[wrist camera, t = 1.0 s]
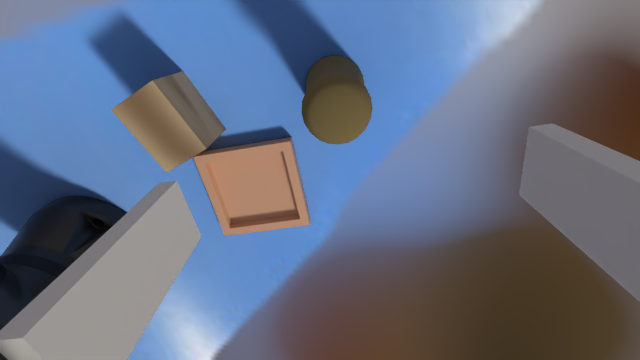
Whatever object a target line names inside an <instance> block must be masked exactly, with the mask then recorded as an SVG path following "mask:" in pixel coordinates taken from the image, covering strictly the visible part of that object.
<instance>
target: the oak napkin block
mask: <svg viewBox="0 0 640 360" xmlns="http://www.w3.org/2000/svg"><path fill="white" fill-rule="evenodd" d="M111 111H112V112H113V113H114V114H115V115H116V116H117V117H118V118H119V120H120V121H121V122H122V123H123V124H124V125H125V126H126V127H127V129H128V130H129V131H130V132H131V133H132V134H133V135H134V136H135V138H136V139H137V140H138V141H139V142H140V143H141V144H142V145H143V147H144V148H145V149H146V150H147V151H148V152H149V153H150V154H151V156H152V157H153V158H154V159H155V160H156V161H157V162H158V163H159V164H160V166H161V167H162V168H163V169H164V170H165V171H166V172H168V171H170V170H172V169H173V168H175V167H177V166H178V165H180V164H182V163H183V162H185V161H187V160H189V159H190V158H192V157H194V156H195V155H197V154H199V153H200V152H202V151H204V150H205V149H207V148H208V147H209V146H210V145H211V144H212V143H213V142H214V141H215V140H216V139H217V138H218V137H219V136H220V135H221V134H222V133H223V132H224V131H225V130H226V128H225V127H224V126H223V124H222V123H221V122H220V120H219V119H218V118H217V116H216V115H215V113H214V112H213V111H212V109H211V108H210V107H209V105H208V104H207V103H206V101H205V100H204V99H203V97H202V96H201V95H200V93H199V92H198V91H197V89H196V88H195V86H194V85H193V84H192V82H191V81H190V80H189V78H188V77H187V76H186V74H185V73H184V72H183V71H181V72H178V73H175V74H171V75H168V76H165V77H161V78H158V79H155V80H152V81H151V82H149V83H148V84H146V85H145V86H144V87H142V88H141V89H139V90H138V91H137V92H135V93H134V94H132V95H131V96H130V97H128V98H127V99H125V100H124V101H123V102H121V103H120V104H118V105H117V106H116V107H114V108H113V109H111Z"/></svg>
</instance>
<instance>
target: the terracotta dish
mask: <svg viewBox="0 0 640 360" xmlns="http://www.w3.org/2000/svg"><path fill="white" fill-rule="evenodd" d="M193 158H194V160H195V163H196V165H197V168H198V170H199V173H200V175H201V178H202V180H203V183H204V185H205V188H206V190H207V193H208V195H209V198H210V200H211V203H212V205H213V208H214V210H215V212H216V215H217V217H218V220H219V222H220V225H221V227H222V230H223V232H224V235H225V236H227V235H235V234H243V233H250V232H258V231H266V230H273V229H281V228H288V227H296V226H304V225H310V214H309V210H308V206H307V201H306V197H305V193H304V188H303V184H302V180H301V175H300V171H299V167H298V162H297V158H296V154H295V149H294V145H293V141H292V137H288V138H282V139H276V140H270V141H264V142H257V143H251V144H245V145H239V146H233V147H227V148H221V149H214V150H208V151H202V152H200V153H199V154H197V155H195V156H194V157H193Z"/></svg>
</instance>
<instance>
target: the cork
mask: <svg viewBox="0 0 640 360" xmlns="http://www.w3.org/2000/svg"><path fill="white" fill-rule="evenodd" d="M305 91H306V93H305V96H304V98H303V101H302V116H303V120H304V123H305V125H306V126H307V128H308V129H309V131H310V132H311V134H313V135H314V136H315V137H316V138H317V139H319V140H321V141H323V142H326V143H328V144H343V143H348V142H350V141H352V140H354V139H355V138H357V137H358V136H359V135H360V134H361V133H362V132H363V131H364V130H365V129H366V127H367V125H368V123H369V121H370V118H371V112H372V103H371V97H370V95H369V93H368V91H367V89H366V87H365V86H364V80H363V75H362V73H361V71H360V69H359V67H358V66H357V65H356V64H355V63H354V62H353V61H352V60H350V59H348V58H346V57H344V56H339V55H331V56H327V57H323V58H322V59H320V60H319V61H317V62H315V64H314V65H313V66H312V67H311V69H310V70H309V72H308V75H307V77H306V82H305Z"/></svg>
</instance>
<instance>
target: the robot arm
mask: <svg viewBox="0 0 640 360" xmlns="http://www.w3.org/2000/svg"><path fill="white" fill-rule="evenodd" d="M519 195H520V196H521V197H522V198H523V199H525V200H526V201H527V202H528V203H529V204H530V205H531V206H532V207H534V208H535V209H536V210H537V211H538V212H539V213H540V214H541V215H543V216H544V217H545V218H546V219H547V220H548V221H549V222H551V223H552V224H553V225H554V226H555V227H556V228H557V229H558V230H559V231H561V232H562V233H563V234H564V235H565V236H566V237H567V238H569V239H570V240H571V241H572V242H573V243H574V244H575V245H576V246H578V247H579V248H580V249H581V250H582V251H583V252H584V253H586V254H587V255H588V256H589V257H590V258H591V259H593V261H594V262H596V263H597V264H598V265H599V266H600V267H601V268H602V269H604V270H605V271H606V272H607V273H608V274H609V275H610V276H611V277H612V278H614V279H615V280H616V281H617V282H618V283H619V284H620V285H621V286H623V287H624V288H625V289H626V290H627V291H628V292H629V293H631V294H632V295H633V296H634V297H635V298H636V299H637V300H638V301H640V161H638V160H635V159H633V158H631V157H628V156H626V155H624V154H621V153H619V152H617V151H614V150H612V149H610V148H607V147H605V146H603V145H601V144H598V143H596V142H594V141H592V140H589V139H587V138H585V137H582V136H580V135H578V134H576V133H573V132H571V131H569V130H566V129H564V128H562V127H559V126H557V125H555V124H546V125H540V126H533V127H529V132H528V138H527V146H526V152H525V159H524V165H523V172H522V179H521V185H520V192H519ZM200 238H201V234H200V232H199V230H198V227H197V225H196V223H195V221H194V218H193V216H192V214H191V212H190V210H189V207H188V205H187V203H186V201H185V198H184V196H183V194H182V192H181V189H180V187H179V185H178V183H177V181H173V182H166V183H160V184H158V185H157V186H156V187H154V188H153V189H152V190H151V191H150V192H149V193H148V194H147V195H146V196H145V197H144V198H143V199H142V200H140V201H139V202H138V203H137V204H136V205H135V206H134V207H133V208H132V209H131V210H130V211H129V212H127V213H125V212H123V211H122V210H120V209H118V208H117V207H115V206H113V205H110V204H108V203H106V202H103V201H100V200H97V199H93V198H87V197H76V196H74V197H65V198H60V199H57V200H55V201H53V202H51V203H49V204H48V205H46V206H45V207H43V208H42V209H40V210H39V211H37V212H36V213H34V214H33V215H32V216H31V217H30V218H29V219H28V221H27V222H26V224H25V225H24V226H23V227H22V229H21V230H20V231H19V233H18V234H17V235H16V237H15V238H14V239H13V241H12V242H11V243H10V245H9V246H8V247H7V249H6V250H5V251H4V253H3V254H2V255H1V256H0V360H127V358H128V357H129V355H130V353H131V352H132V350H133V349H134V347H135V345H136V344H137V342H138V340H139V339H140V337H141V335H142V334H143V332H144V330H145V329H146V327H147V325H148V324H149V322H150V320H151V319H152V317H153V316H154V314H155V312H156V311H157V309H158V307H159V306H160V304H161V302H162V301H163V299H164V297H165V296H166V294H167V292H168V291H169V289H170V287H171V286H172V284H173V282H174V281H175V279H176V278H177V276H178V274H179V273H180V271H181V269H182V268H183V266H184V264H185V263H186V261H187V259H188V258H189V256H190V254H191V253H192V251H193V249H194V248H195V246H196V245H197V243H198V241H199V240H200Z"/></svg>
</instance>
